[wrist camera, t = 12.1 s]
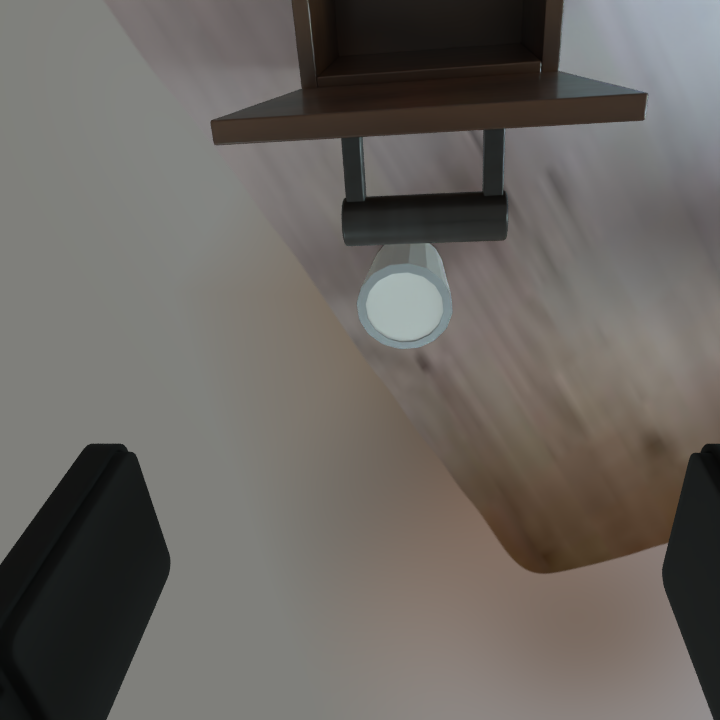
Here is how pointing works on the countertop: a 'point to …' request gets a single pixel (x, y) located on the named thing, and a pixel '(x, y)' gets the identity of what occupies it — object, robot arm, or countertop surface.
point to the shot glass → (405, 296)
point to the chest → (424, 39)
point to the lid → (429, 115)
